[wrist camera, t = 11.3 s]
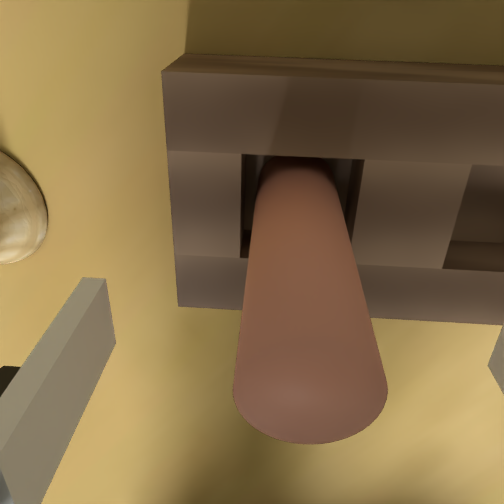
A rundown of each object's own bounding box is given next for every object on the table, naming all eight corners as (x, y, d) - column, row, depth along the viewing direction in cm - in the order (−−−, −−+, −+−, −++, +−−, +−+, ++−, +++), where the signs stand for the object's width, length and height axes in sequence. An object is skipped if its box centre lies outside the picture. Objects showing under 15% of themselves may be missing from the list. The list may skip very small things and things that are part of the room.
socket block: (547, 276, 28) (594, 330, 24) (193, 257, 29) (178, 306, 25) (638, 70, 22) (723, 93, 18) (184, 53, 23) (161, 71, 18)
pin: (329, 222, 25) (373, 449, 13) (256, 218, 25) (232, 439, 13) (338, 151, 23) (401, 341, 11) (258, 147, 23) (233, 331, 11)
